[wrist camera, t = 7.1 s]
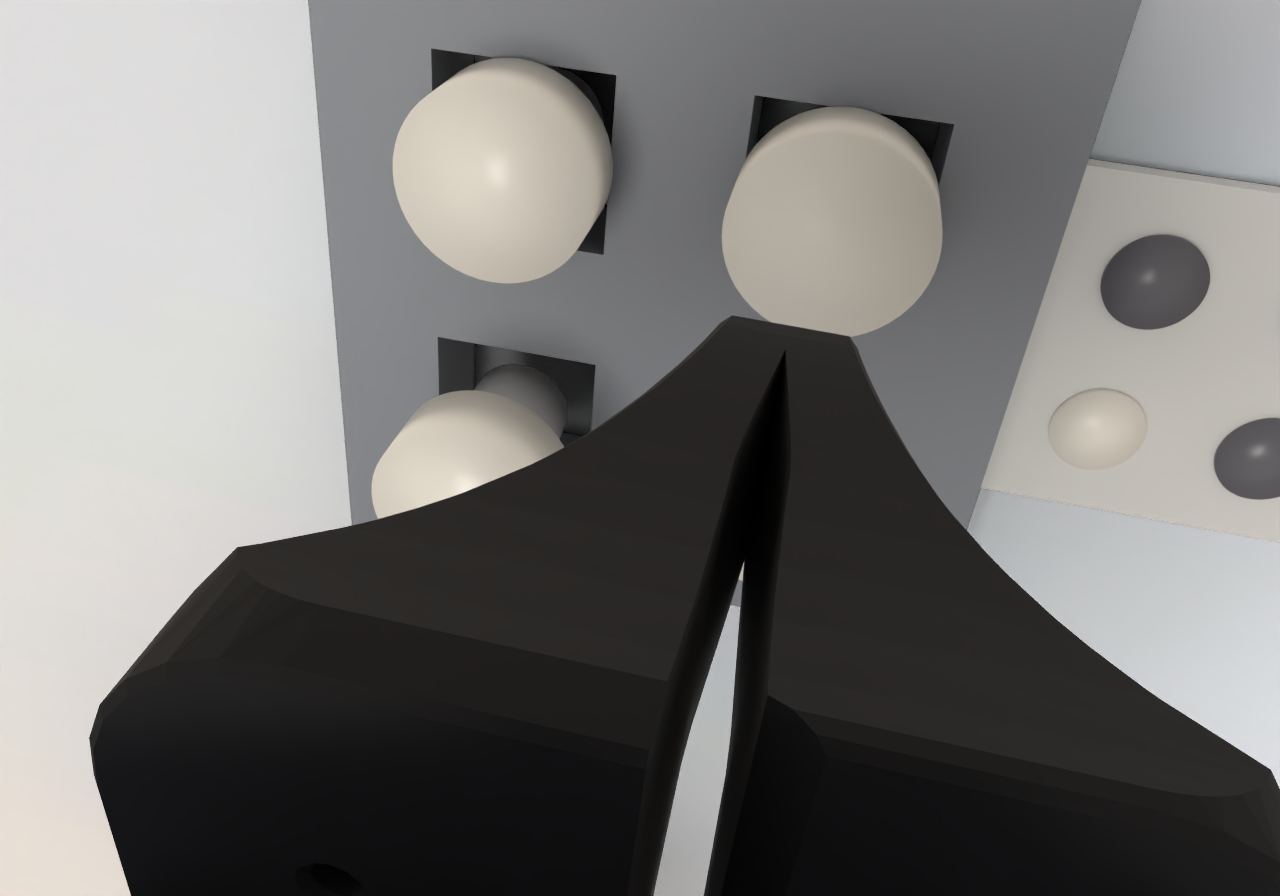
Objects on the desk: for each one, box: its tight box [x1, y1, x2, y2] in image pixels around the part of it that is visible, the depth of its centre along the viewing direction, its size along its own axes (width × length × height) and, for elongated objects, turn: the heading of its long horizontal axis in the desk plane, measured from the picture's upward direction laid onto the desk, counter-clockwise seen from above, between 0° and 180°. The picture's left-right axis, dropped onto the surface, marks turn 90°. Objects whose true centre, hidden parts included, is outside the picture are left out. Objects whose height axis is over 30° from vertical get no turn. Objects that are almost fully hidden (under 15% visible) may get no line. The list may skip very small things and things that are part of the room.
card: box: [981, 159, 1280, 543], centre depth 20 cm, size 7×7×1 cm
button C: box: [393, 57, 613, 283], centre depth 19 cm, size 3×3×4 cm
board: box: [308, 0, 1141, 607], centre depth 21 cm, size 13×13×2 cm
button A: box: [372, 364, 568, 519], centre depth 21 cm, size 3×3×4 cm
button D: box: [722, 106, 943, 337], centre depth 18 cm, size 3×3×4 cm
